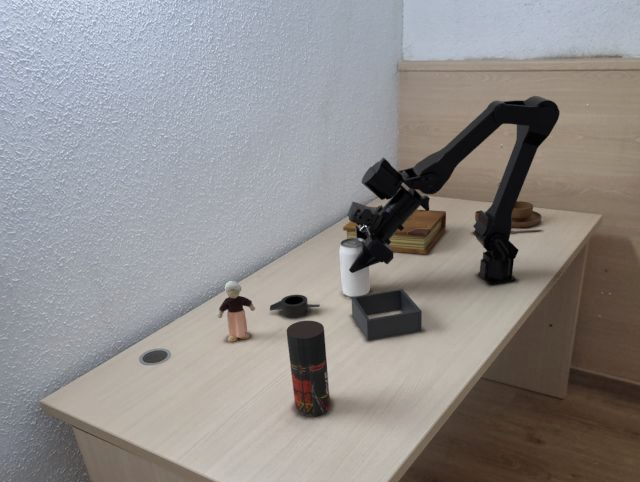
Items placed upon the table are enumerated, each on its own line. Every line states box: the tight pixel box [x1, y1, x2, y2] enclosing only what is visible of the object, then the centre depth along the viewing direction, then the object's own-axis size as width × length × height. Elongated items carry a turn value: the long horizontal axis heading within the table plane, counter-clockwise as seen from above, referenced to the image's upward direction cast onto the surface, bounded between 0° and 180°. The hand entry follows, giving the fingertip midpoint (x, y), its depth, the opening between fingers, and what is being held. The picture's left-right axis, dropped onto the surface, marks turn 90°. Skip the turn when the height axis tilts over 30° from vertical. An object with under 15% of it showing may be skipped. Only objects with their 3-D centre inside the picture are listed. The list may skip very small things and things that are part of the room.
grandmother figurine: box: [217, 280, 256, 343], centre depth 124 cm, size 8×4×13 cm, turn 117°
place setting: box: [472, 200, 542, 235], centre depth 172 cm, size 18×20×6 cm
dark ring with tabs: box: [269, 294, 321, 319], centre depth 135 cm, size 8×10×3 cm
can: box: [338, 238, 371, 298], centre depth 138 cm, size 6×6×12 cm
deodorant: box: [286, 320, 331, 418], centre depth 101 cm, size 6×6×15 cm
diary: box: [342, 206, 447, 255], centre depth 168 cm, size 23×19×6 cm
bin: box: [350, 288, 423, 341], centre depth 127 cm, size 11×11×4 cm
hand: (348, 265), depth 138 cm, fingers closed on can, 6 cm apart
